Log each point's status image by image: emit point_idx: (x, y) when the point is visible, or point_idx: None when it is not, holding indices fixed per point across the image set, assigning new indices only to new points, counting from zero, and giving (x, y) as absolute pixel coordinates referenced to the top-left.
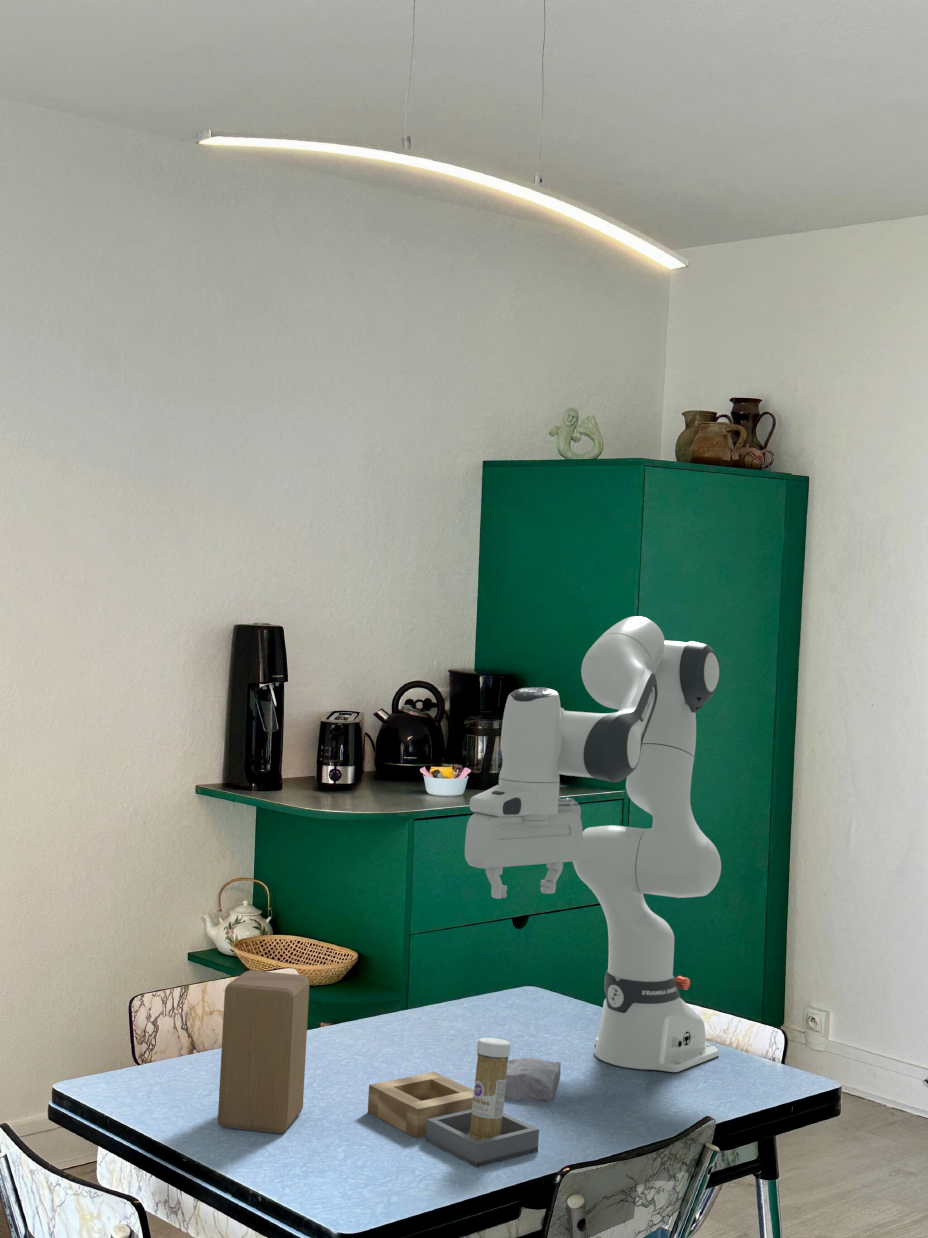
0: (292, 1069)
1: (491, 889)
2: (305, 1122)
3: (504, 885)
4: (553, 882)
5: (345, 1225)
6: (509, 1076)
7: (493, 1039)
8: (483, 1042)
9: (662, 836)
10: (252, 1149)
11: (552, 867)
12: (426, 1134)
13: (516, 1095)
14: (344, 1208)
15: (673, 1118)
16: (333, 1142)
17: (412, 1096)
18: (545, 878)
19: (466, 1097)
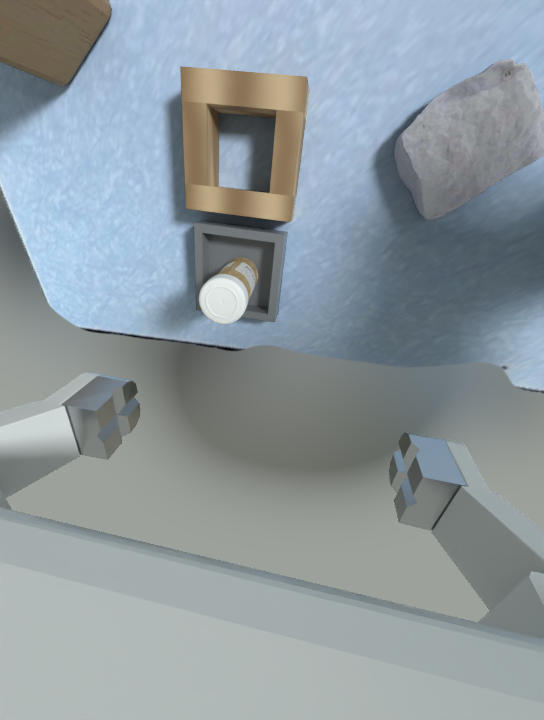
0: (8, 42)
1: (64, 386)
2: (108, 58)
3: (102, 446)
4: (435, 527)
5: (62, 312)
6: (408, 157)
7: (226, 296)
8: (199, 302)
9: None
10: (26, 108)
11: (492, 622)
12: (200, 221)
13: (402, 176)
14: (70, 290)
15: (470, 348)
16: (114, 152)
17: (206, 162)
18: (466, 495)
19: (263, 214)
